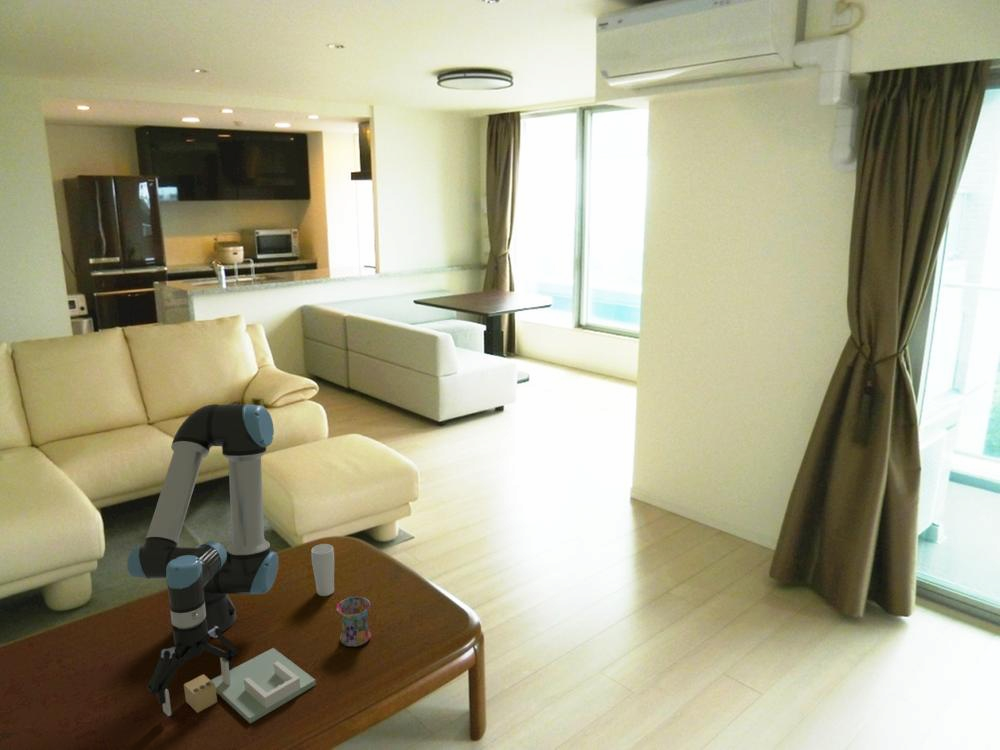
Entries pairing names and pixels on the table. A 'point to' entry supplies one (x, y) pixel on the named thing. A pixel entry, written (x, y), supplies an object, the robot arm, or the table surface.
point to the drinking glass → (323, 568)
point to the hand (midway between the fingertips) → (197, 699)
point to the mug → (354, 621)
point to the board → (263, 684)
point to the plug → (200, 693)
